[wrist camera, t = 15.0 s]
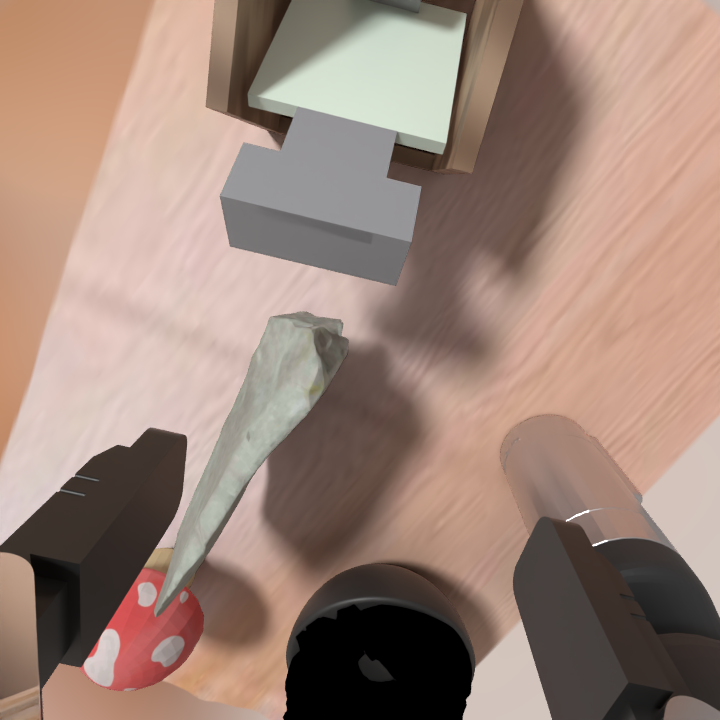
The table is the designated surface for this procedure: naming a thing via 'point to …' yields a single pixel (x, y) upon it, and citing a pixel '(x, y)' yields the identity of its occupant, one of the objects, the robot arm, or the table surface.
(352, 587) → the coal bowl
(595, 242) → the table surface
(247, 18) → the wooden bench shelf
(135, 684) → the decorative mushroom
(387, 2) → the gray block
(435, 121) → the trapdoor
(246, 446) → the rock
